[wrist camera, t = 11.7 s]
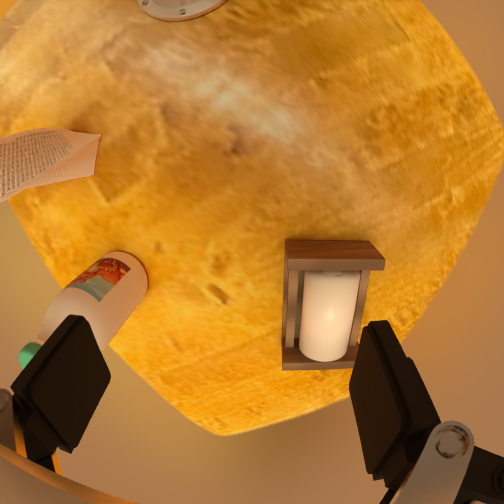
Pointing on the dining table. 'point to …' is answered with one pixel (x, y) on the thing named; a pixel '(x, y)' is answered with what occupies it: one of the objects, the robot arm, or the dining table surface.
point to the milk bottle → (96, 300)
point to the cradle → (296, 262)
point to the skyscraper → (44, 158)
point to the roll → (327, 313)
